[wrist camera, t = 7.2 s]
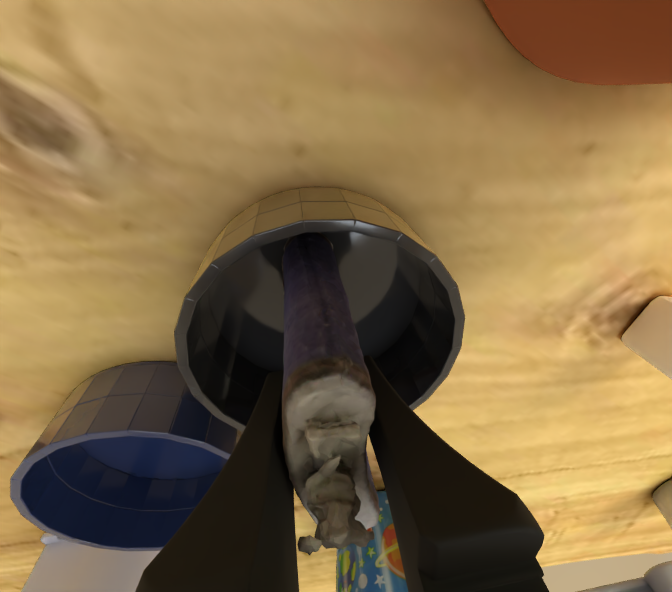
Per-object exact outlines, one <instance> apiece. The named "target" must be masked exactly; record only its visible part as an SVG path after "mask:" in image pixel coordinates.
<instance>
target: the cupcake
mask: <svg viewBox="0 0 672 592" xmlns="http://www.w3.org/2000/svg"><path fill="white" fill-rule="evenodd" d="M653 500H654V502H655V504H656V505H657V507H658V509H659V510H660V512H661V513H662V515H663V516H664V518H665V519H666V521H667V522H668V524H669V526H670V527H671V529H672V479H671V480H669V481H667V482H665V483H664V484H662V485H661V486H660V487H659V488H658V489H657V490H656V491H655V492H654V494H653Z"/></svg>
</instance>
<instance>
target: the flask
mask: <svg viewBox="0 0 672 592" xmlns="http://www.w3.org/2000/svg"><path fill="white" fill-rule="evenodd" d="M283 249H284V254H283V257H282V266H283V267H282V271H283V281H282V284H283V287H284V352H283V362H284V375H283V389H282V429H283V441H282V444H283V451H284V455H285V463H286V465H287V468H288V471H289V478H290V480H291V481H292V484H293V486H294V489H295V491H296V494H297V496H298V497H299V498H300V500H301V502H302V504H303V506H304V507H305V508H306V510H307V511H308V512H309V514H310V515H311V517H312V518H313V520H314V521H315V523H316V524H317V529H316V532H315V538H316V539H315V538H313V537H312V536H310V535H309V536H306V537H300V538H299V541H298V549H299V551H302V552H306V553H308V554H309V555H310V554H311V553H312V552H317V551H318V550H319V548H320V546H321V545H323V546H324V547H325V548H335V547H336V548H337V549H341V548H345V547H346V546H348V545H349V544H355V545H357V546H359V547H366V546H367V544H368V542H369V540H374V538H375V536H374V531H373V530H372V531H368V530H367V529H368V528H371V527H374V526H376V525H377V523H378V520H379V513H380V508H379V498H378V494H377V492H376V489H375V486H374V483H373V478H372V475H371V471H370V466H369V461H368V457H367V452H366V445H367V436H368V433H369V431H370V425H371V424H372V422H373V421H374V411H375V406H376V395H375V393H374V390H373V388H372V385H371V380H370V375H369V372H368V369H367V367H366V365H365V363H364V358H363V354H362V350H361V349H360V345H359V340H358V335H357V332H356V329H355V326H354V324H353V320H352V317H351V312H350V307H349V300H348V298H347V295H346V292H345V289H344V286H343V283H342V280H341V278H340V274H339V270H338V267H337V263H336V258H335V255H334V252H333V245H332V243H331V242H330V241H329V240H328V239H327V238H326V236H324V235H323V234H321V233H320V232H315V233H303V234H300V235H296V236H293V237H290V238H288V240H287V242H286V244H285V246H284V248H283Z"/></svg>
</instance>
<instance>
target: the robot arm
mask: <svg viewBox="0 0 672 592" xmlns="http://www.w3.org/2000/svg"><path fill="white" fill-rule="evenodd" d="M363 358H364V363H365V365H366V367H367V369H368V372H369V375H370V380H371V385H372V388H373V390H374V393H375V395H376V406H375V411H374V421H373V422H372V424H371V425H370V431H369V433H368V434H369V437H370V440H371V443H372V446H373V449H374V452H375V455H376V459H377V462H378V465H379V468H380V471H381V474H382V478H383V482H384V485H385V490H386V494H387V498H388V503H389V507H390V511H391V516H392V520H393V525H394V529H395V533H396V538H397V542H398V547H399V551H400V556H401V560H402V565H403V569H404V574H405V579H406V583H407V588H408V592H549V590H548V588H547V586H546V585H545V583H544V581H543V579H542V577H543V575H544V574H543V571H542V569H541V567H540V565H539V563H538V561H537V559H536V555H537V553H538V551H539V550H540V548H541V546H542V544H543V540H544V534H543V532H542V530H541V528H540V526H539V524H538V523H537V521H536V520H535V518H534V517H533V515H532V514H531V512H530V511H529V510H528V508H527V507H526V506H525V504H524V503H523V502H522V500H521V499H520V498H519V497H518V495H517V494H516V493H514V492H513V491H511V490H509V489H508V488H506V487H505V486H503V485H502V484H500V483H499V482H497V481H496V480H494V479H493V478H492V477H490V476H489V475H487V474H486V473H484V472H483V471H482V470H480V469H479V468H478V467H476V466H475V465H473V464H472V463H471V462H469V461H468V460H467V459H466V458H464V457H463V456H462V455H461V454H459V453H458V452H457V451H456V450H454V449H453V448H452V447H451V446H449V445H448V444H447V443H446V442H445V441H444V440H442V439H441V438H440V437H439V436H438V435H437V434H436V433H435V432H433V431H432V430H431V429H430V428H429V427H428V426H427V425H426V424H425V423H424V422H423V421H422V420H421V419H420V418H419V417H418V416H417V415H416V414H415V413H414V412H413V411H412V409H411V408H410V407H409V406H408V405H407V404H406V403H405V402H404V401H403V399H402V398H401V397H400V396H399V395H398V393H397V392H396V391H395V390H394V389H393V387H392V386H391V385H390V383H389V382H388V381H387V379H386V378H385V377H384V375H383V374H382V372H381V371H380V370H379V368H378V366H377V365H376V363H375V362H374V360H373V358H372V357H371V356H370V355H367V356H363ZM283 375H284V370H282V371H276V372H271V373H268V375H267V376H266V380H265V383H264V385H263V388H262V391H261V393H260V396H259V398H258V401H257V403H256V406H255V408H254V410H253V412H252V415H251V417H250V419H249V421H248V423H247V425H246V427H245V429H244V431H243V433H242V435H241V437H240V439H239V441H238V443H237V445H236V446H235V448H234V450H233V452H232V454H231V455H230V457H229V459H228V460H227V462H226V464H225V465H224V467H223V468H222V470H221V472H220V473H219V475H218V476H217V478H216V479H215V481H214V482H213V484H212V485H211V487H210V488H209V490H208V491H207V493H206V494H205V495H204V497H203V498H202V500H201V501H200V502H199V504H198V505H197V506H196V508H195V509H194V510H193V511H192V513H191V514H190V515H189V517H188V518H187V519H186V521H185V522H184V523H183V524H182V526H181V527H180V528H179V530H178V531H177V532H176V533H175V534H174V536H173V537H172V538H171V539H170V540H169V542H168V543H167V544H166V545H165V546H164V547H163V548H162V550H161V551H119V550H109V549H100V548H94V547H90V546H86V545H82V544H78V543H74V542H69V541H66V540H64V539H62V538H59V537H57V536H54V535H52V534H50V533H44V534H43V535H42V537H41V539H40V540H41V542H43V543H44V544H45V545H46V546H45V548H44V549H43V551H42V553H41V555H40V557H39V559H38V561H37V562H36V564H35V566H34V568H33V570H32V572H31V574H30V575H29V577H28V579H27V581H26V583H25V585H24V587H23V589H22V590H21V592H299V584H298V569H297V554H296V536H295V517H294V486H293V484H292V481H291V480H290V478H289V471H288V468H287V465H286V463H285V455H284V451H283V444H282V441H283V429H282V389H283ZM578 592H672V561H669V562H665V563H661V564H658V565H656V566H654V567H652V568H650V569H649V570H648V571H647V572H646V573H645V574H644V577H641V578H637V579H632V580H627V581H623V582H619V583H614V584H609V585H604V586H600V587H596V588H591V589H586V590H582V591H578Z"/></svg>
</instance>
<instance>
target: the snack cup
mask: <svg viewBox="0 0 672 592" xmlns="http://www.w3.org/2000/svg"><path fill="white" fill-rule="evenodd" d="M376 492H377V494H378V498H379V508H380V513H379V520H378V523H377V525H376V526H374V527H371V528H368V529H367V530H368V531H372V530H373V531H374V536H375V538H374V540H369V542H368V544H367V546H366V547H359V546H357V545H355V544H349V545H348V546H346V547H345V548H341V549H337V564H336V592H408V588H407V583H406V579H405V574H404V569H403V565H402V560H401V556H400V551H399V547H398V542H397V538H396V533H395V529H394V525H393V520H392V516H391V511H390V507H389V503H388V498H387V494H386V491H376Z"/></svg>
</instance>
